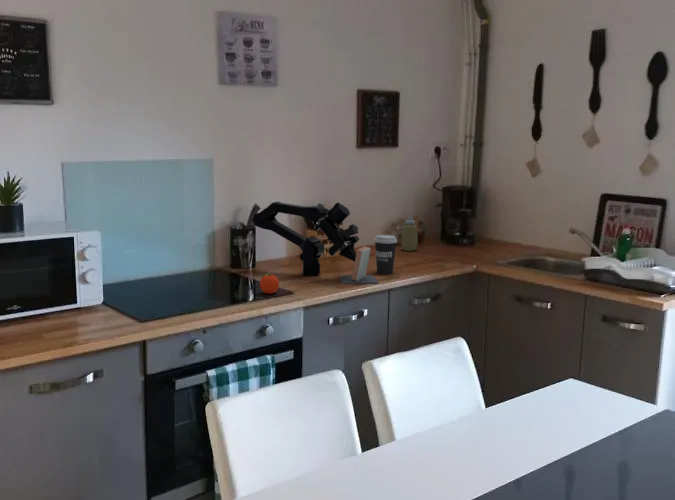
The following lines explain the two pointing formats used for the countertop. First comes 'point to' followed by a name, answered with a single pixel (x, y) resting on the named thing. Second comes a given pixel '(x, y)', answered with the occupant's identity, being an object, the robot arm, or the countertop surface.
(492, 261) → the countertop surface
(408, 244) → the squeeze bottle
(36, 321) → the countertop surface
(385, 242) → the coffee cup
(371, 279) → the mat
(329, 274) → the countertop surface
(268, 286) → the clementine
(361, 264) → the tile
